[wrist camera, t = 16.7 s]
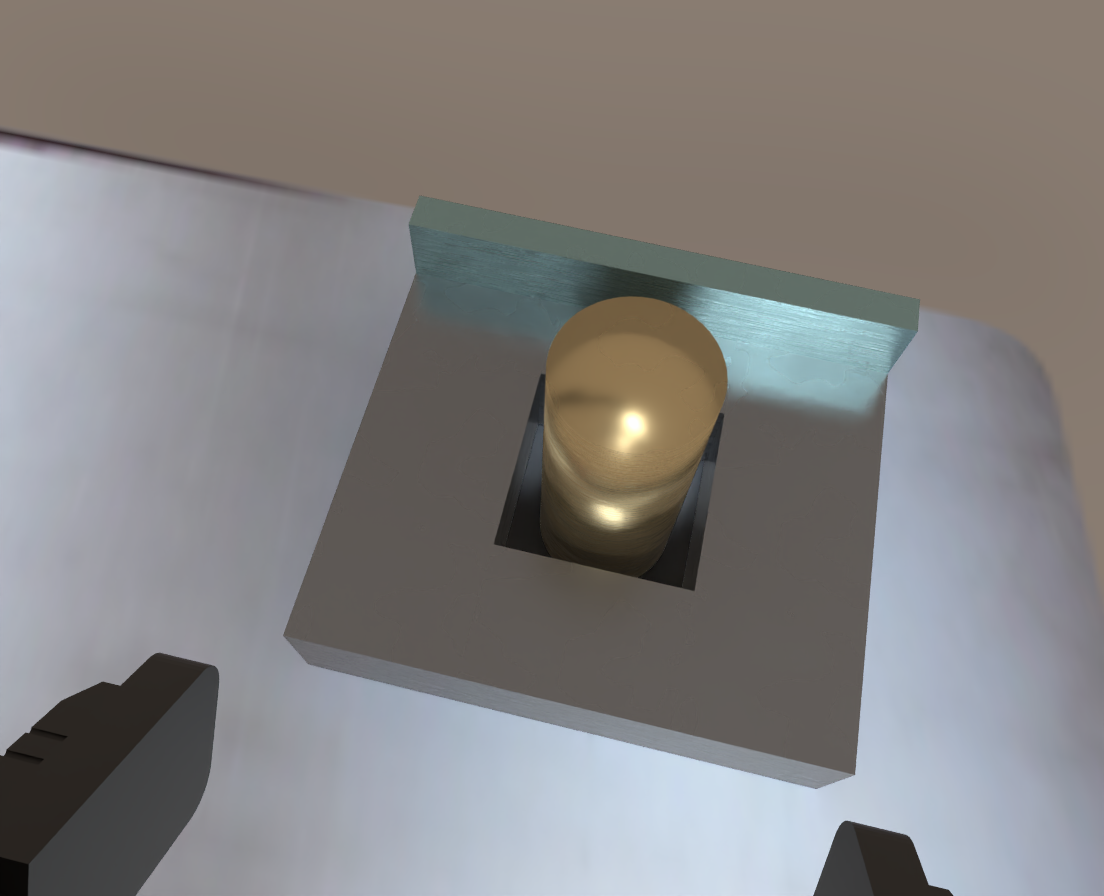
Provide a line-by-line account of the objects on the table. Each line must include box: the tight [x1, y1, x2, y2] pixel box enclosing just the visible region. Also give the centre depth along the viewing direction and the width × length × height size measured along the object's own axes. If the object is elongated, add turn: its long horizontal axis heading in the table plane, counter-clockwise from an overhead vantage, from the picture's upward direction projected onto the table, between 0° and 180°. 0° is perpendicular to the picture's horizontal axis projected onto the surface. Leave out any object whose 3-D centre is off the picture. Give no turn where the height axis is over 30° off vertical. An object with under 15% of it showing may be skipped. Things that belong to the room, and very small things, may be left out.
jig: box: [283, 196, 920, 789], centre depth 29 cm, size 16×14×6 cm
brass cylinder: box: [540, 296, 728, 578], centre depth 27 cm, size 4×4×10 cm
